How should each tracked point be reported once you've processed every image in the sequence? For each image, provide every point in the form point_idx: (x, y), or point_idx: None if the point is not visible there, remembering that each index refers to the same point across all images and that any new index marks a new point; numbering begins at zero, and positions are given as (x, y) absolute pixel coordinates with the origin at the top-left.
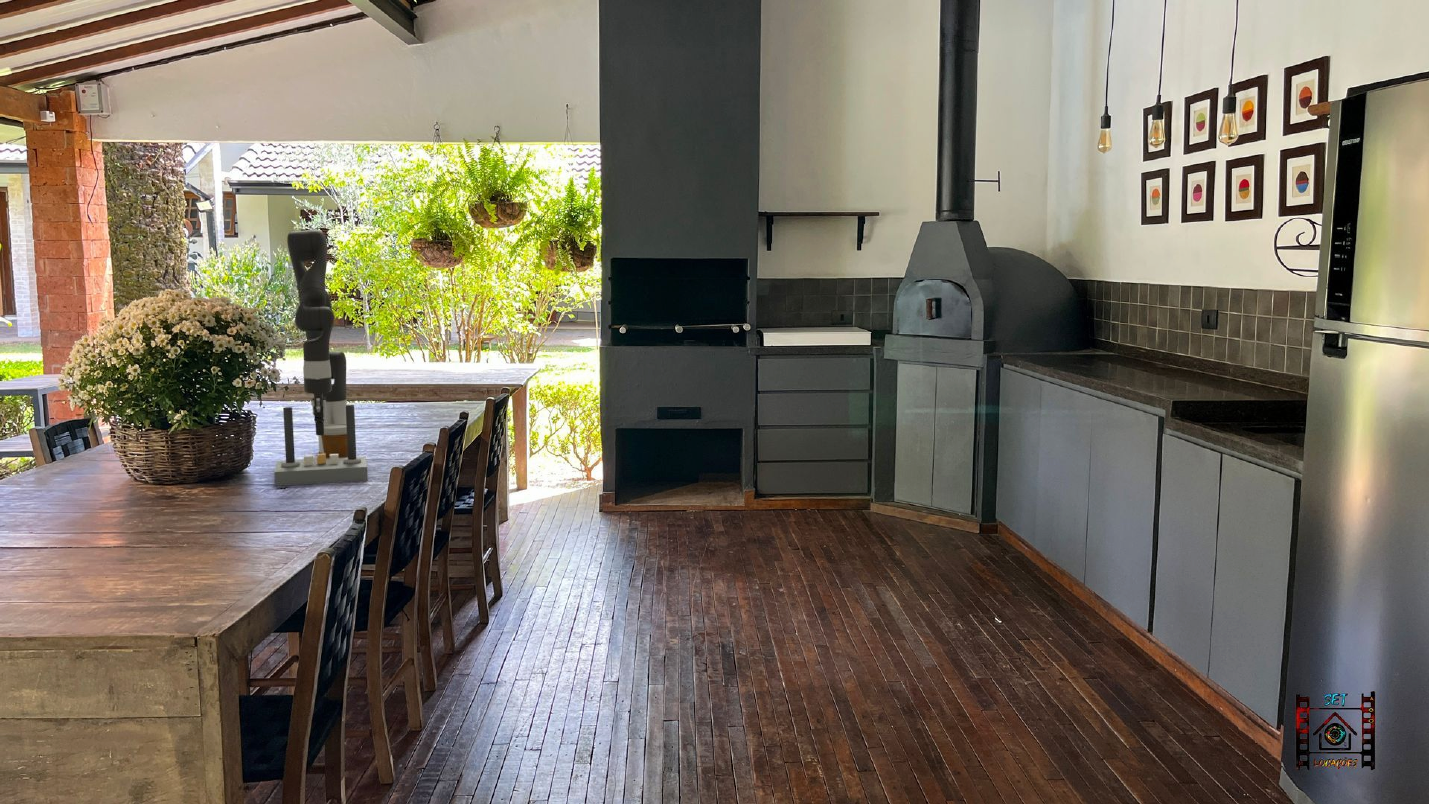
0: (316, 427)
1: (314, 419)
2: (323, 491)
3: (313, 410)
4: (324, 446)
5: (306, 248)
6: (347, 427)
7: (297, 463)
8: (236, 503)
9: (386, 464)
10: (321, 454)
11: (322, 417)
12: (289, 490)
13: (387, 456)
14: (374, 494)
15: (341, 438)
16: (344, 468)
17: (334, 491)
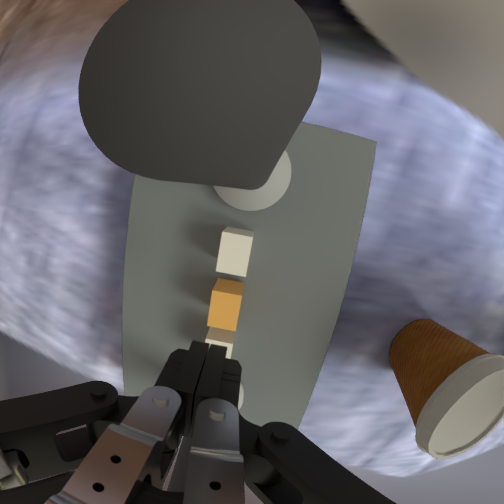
0: (182, 371)
1: (89, 389)
2: (49, 244)
3: (89, 458)
4: (444, 343)
5: None
6: (175, 482)
7: (221, 197)
8: (38, 48)
9: (327, 445)
10: (217, 311)
11: (66, 437)
12: (89, 155)
13: (412, 445)
14: (13, 335)
15: (413, 414)
16: (122, 343)
17: (43, 269)
